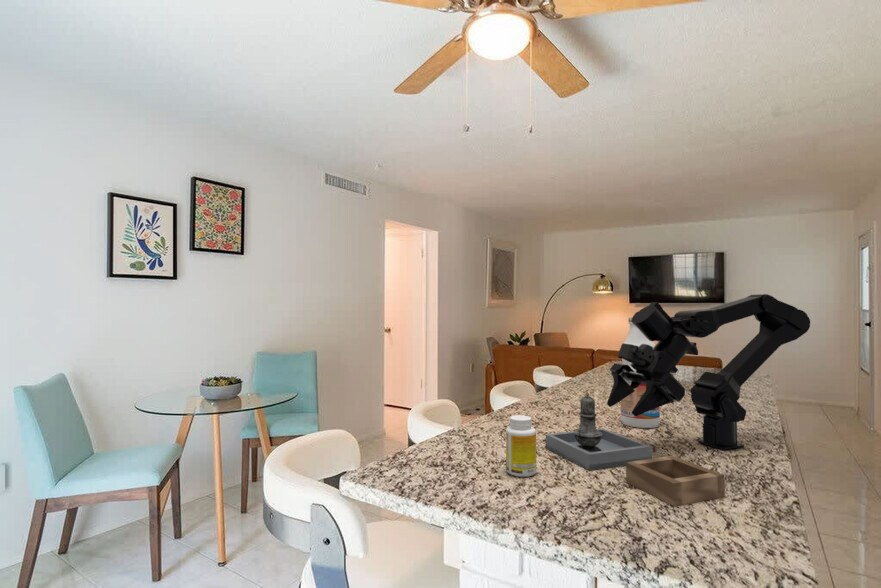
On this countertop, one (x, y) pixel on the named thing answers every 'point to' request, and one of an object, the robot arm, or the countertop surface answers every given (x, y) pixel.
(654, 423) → the fruit juice
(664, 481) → the walnut collar
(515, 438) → the supplement bottle
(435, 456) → the countertop surface
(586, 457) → the charcoal tray
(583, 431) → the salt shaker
